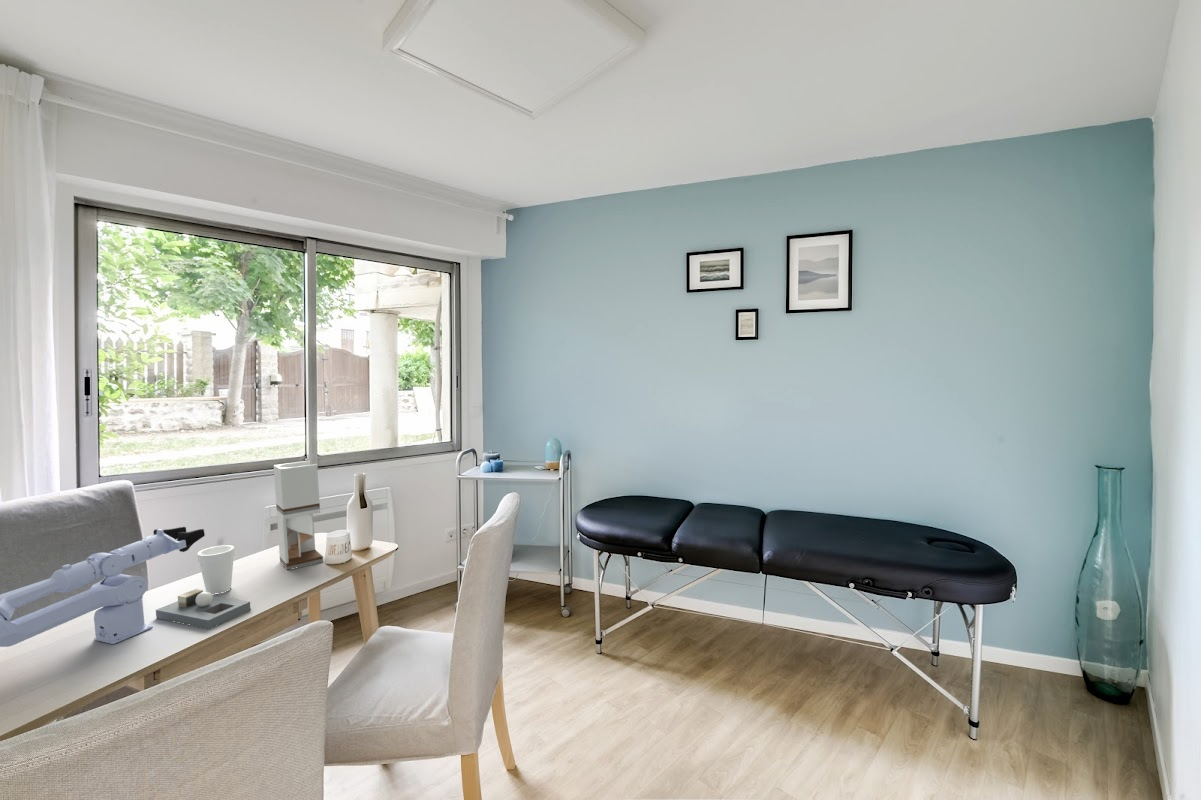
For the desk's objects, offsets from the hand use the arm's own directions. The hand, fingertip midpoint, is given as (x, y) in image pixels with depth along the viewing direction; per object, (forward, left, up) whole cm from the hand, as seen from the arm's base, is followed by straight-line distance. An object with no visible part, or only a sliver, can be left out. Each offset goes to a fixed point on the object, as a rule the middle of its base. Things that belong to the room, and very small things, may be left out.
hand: (194, 531), depth 165 cm
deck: (-5, -9, -22) cm, 24 cm away
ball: (-5, -10, -17) cm, 20 cm away
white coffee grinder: (+35, -1, -22) cm, 41 cm away
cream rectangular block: (-5, -4, -19) cm, 20 cm away
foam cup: (+8, +3, -22) cm, 23 cm away
